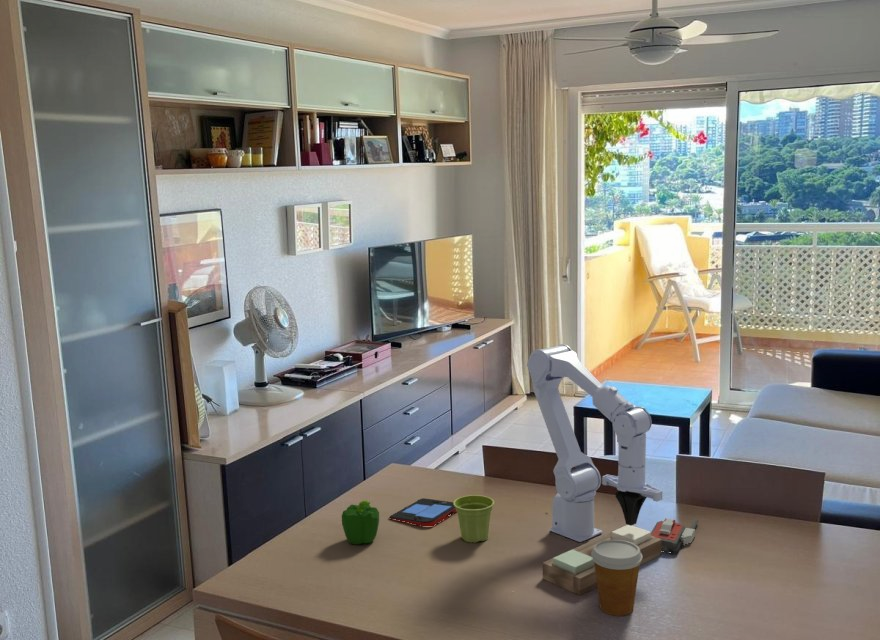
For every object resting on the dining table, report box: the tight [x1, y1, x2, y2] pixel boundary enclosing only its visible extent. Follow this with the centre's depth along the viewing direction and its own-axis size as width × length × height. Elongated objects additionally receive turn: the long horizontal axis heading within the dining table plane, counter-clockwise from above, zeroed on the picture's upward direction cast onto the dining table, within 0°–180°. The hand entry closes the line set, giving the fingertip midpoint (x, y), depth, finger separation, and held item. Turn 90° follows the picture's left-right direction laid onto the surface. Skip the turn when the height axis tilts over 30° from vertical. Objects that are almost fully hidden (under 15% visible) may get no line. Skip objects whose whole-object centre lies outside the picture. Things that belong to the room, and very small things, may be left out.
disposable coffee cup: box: [591, 540, 643, 617], centre depth 164 cm, size 10×10×12 cm
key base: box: [541, 526, 662, 596], centre depth 182 cm, size 10×27×4 cm, turn 131°
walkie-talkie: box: [650, 518, 699, 554], centre depth 196 cm, size 9×4×20 cm
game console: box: [389, 497, 457, 527], centre depth 214 cm, size 14×13×2 cm
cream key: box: [611, 524, 652, 545], centre depth 188 cm, size 6×6×3 cm
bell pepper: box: [341, 500, 380, 545], centre depth 198 cm, size 8×8×10 cm
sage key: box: [552, 548, 595, 575], centre depth 176 cm, size 6×6×3 cm
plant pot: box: [452, 494, 495, 544], centre depth 198 cm, size 9×9×9 cm
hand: (631, 523), depth 187 cm, fingers closed
